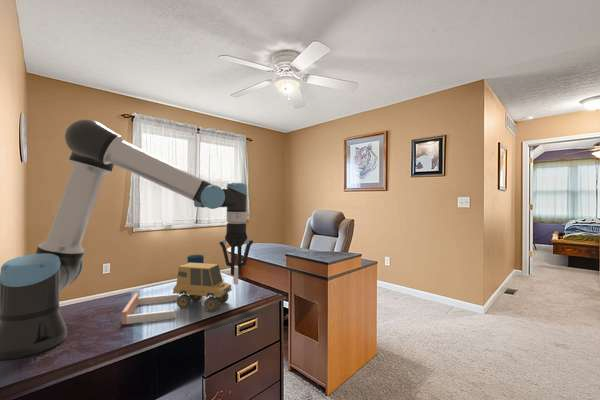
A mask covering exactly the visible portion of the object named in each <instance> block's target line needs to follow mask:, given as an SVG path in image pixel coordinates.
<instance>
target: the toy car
mask: <svg viewBox="0 0 600 400" xmlns="http://www.w3.org/2000/svg"><path fill="white" fill-rule="evenodd" d="M172 290H173V292H172V294H179V297H178V299H177V301H176V305H177V307H178V308H179V309H181V310H184V309H187V308H189V307H190V306H191V303H192V301H193V302H198V301H200V300H202V298H203V297H206V299H205V301H204V303H203V305H204V309H205V310H206V311H208V312H214V311H216V310H217V309H218V308H219V305H221V304H222V303H223V304H225V303H226V302H228V300H229V293H230V292H231V291H232V290H233V288H232V284H230V283H228V282H225V278H223V277H222V274H221V269H220V264H219V263H204V262H203V263H188V262H187V263H186V264H182V265H179V266H178V269H177V277H176V285H175V286H174V287H173V289H172ZM220 303H221V304H220ZM223 304H222V305H223Z"/></svg>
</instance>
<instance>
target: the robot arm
mask: <svg viewBox="0 0 600 400" xmlns="http://www.w3.org/2000/svg"><path fill="white" fill-rule="evenodd" d="M65 130H66V131H65V133H64V139H65V140H64V141H65V145H66V146H67V147H68V148H69V150H70V151H71V153H70V156H69V159H68V162H69V163H70V165H71V167H72V169H71V171H70V174H69V178H68V180H67V182H66V186H65V188H64V190H63V193H62V194H63V195H62V196H61V199H60V201H59V202H60V203H59V205H58V208H57V210H56V214H55V217H54V220H53V222H52V225H51V228H50V230H49V233H48V236H47V238H46V240H45V241H42V242H41V243H39V244H38V246H37V248H36V251H35V253H32V254H26V255H23V256H18V257H14V258H10V259H9V260H7V261H5V262H3V264H2V265H1V267H0V361H2V360H3V361H5V360H12V359H20V358H24V357H29V356H33V355H35V354H38V353H42V352H44V351H47V350H50V349H51V348H55V347H56V346H58V345H59V344H61V343H62V342H64V341H65V340H66V338H67V337H68V328H67V327H68V326H67V325H66V322H65V320H64V318H63V316H62V313H61V311H60V291H62V290H63V289H65V288H67V286H70V285H72V283H74V282H75V281H76V280H77V278H78V277H79V276H80V275H81V272H82V271H83V268H84V265H83V263H84V262H83V256H84V253H85V249H84V247H82V242H83V239H84V237H85V234H86V231H87V228H88V225H89V222H90V219H91V216H92V213H93V209H94V207H95V204H96V201H97V198H98V195H99V192H100V189H101V186H102V184H103V180H104V178H105V176H106V175H110V174H111V173H112V171H113V168H114V166H117V167H119V168H121V169H124V170H125V171H127V172H130V173H132V174H134V175H136V176H138V177H141V178H143V179H145V180H147V181H149V182H152V183H153V184H156V185H158V186H161V187H163V188H164V189H168V190H169V191H172V192H174V193H175V194H177V195H180V196H183V197H185V198H187V199H189V200H191V201H192V202H193V206H194V207H195V208H207V209H210V210H215V209H218V208H226V222H227V223H226V230H225V231H226V232H225V234H226V235H225V236H224V238H223V239H222V240H219V241H218V243H219V245H220V246H221V249H222V252H223V253H222V254H223V256H224V261H225V266H227V267H229V268H230V275H231V277H232V276H233V280H232V281H233V285H234V286H235V285H238V284H239V276H240V275H241V274H242V267H243V266H245V265H246V264H247V261H248V258H249V253H250V250H251V249H250V248H251V246H252V245H253V243H254V241H253V240H252V239H250V238H249V237H248V235H247V203H248V202H247V199H248V194H247V185H246V184H245V183H243V182H228V183H227V184H226V187H220V186H218V185H217V184H213V183H210V182H208V181H207V180H204V179H202V178H200V177H198V176H196V175H195V174H192V173H191V172H189V171H187V170H184V169H182V168H180V167H178V166H176V165H174V164H172V163H170V162H168V161H166V160H164V159H161V158H159V157H158V156H156V155H154V154H151V153H149V152H147V151H145V150H144V149H141V148H139V147H138V146H135V145H133V144H131V143H130V142H127V141H125V139H124V137H123V136H122V135H120V134H119V133H116V132H114V131H113V130H111V129H110V128H108V127H106V126H105V125H103V124H102V123H100V121H99V122H98V121H96V120H92V119H80V120H76V121H75V122H72V123H71V124H69V125H68V127H67V128H66V129H65ZM227 243H228V245H229V246H230V261H229V255H228V252H227V248H226V244H227ZM244 244H246V245H245V248H244V253H243V256H242V249H243V245H244ZM236 247H237V251H236V252H237V257H236V256H235V254H236V253H235V250H236ZM235 257H236V260H237V261H236V262H237V263H236V265H235Z"/></svg>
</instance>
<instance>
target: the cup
mask: <svg viewBox="0 0 600 400" xmlns="http://www.w3.org/2000/svg"><path fill="white" fill-rule="evenodd" d="M204 258H205V255H203V254H189V255H188V256H187V258H186V260H187V263H204Z"/></svg>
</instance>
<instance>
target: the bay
mask: <svg viewBox="0 0 600 400" xmlns="http://www.w3.org/2000/svg"><path fill="white" fill-rule="evenodd" d="M139 294H140V293H139V292H138V293H137V292H136V293H134V294H133V296H132V297H131V298H130V300H129V302H128V303H127V304H126V306H125V307H124V308H123V310H122V311H121V325H129V324H137V323H146V322H154V321H162V320H165V321H166V320H172V319H176V310H175V309H170V310H169V309H168V310H161V311H153V312H152V311H151V312H143V313H142V312H141V313H135V314H134V312H135V310H136V309H137V307H138V306H139V305H150V304H159V303H169V302H177V299H178V297H179V296H180V295H179V294H176V293H174V294H173V293H171V294H162V295H149V296H140V295H139ZM139 296H140V297H139Z"/></svg>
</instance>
